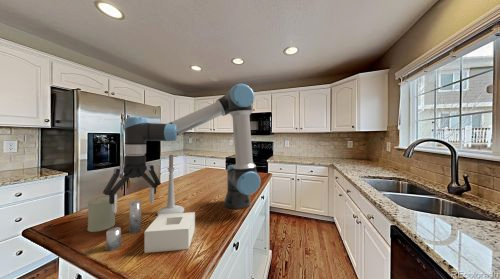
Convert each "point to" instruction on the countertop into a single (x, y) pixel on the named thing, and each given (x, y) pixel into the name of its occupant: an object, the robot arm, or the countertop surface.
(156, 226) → the hole block
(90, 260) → the countertop surface
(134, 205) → the long pin
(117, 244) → the short pin
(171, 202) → the candlestick
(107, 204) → the can
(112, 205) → the robot arm
